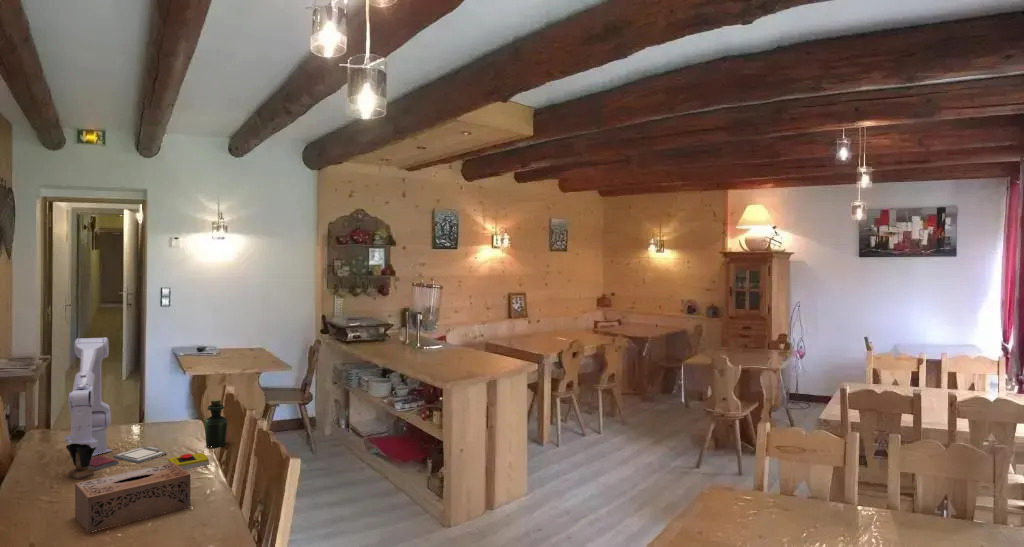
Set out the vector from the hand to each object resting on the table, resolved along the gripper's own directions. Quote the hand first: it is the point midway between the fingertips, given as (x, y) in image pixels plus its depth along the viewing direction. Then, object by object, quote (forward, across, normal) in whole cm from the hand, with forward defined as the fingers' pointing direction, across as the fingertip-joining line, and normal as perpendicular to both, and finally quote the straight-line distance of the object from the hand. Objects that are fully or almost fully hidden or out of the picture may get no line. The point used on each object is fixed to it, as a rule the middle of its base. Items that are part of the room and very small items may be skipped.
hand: (81, 465), depth 209 cm
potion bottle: (+4, +12, +43) cm, 45 cm away
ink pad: (+3, -6, +9) cm, 11 cm away
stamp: (+3, 0, 0) cm, 3 cm away
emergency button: (+4, +23, +23) cm, 33 cm away
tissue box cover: (+4, +42, -11) cm, 44 cm away
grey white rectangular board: (+3, -2, +22) cm, 22 cm away
